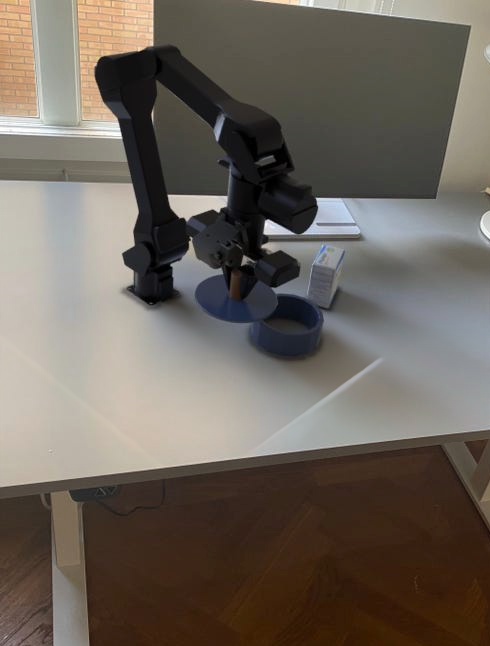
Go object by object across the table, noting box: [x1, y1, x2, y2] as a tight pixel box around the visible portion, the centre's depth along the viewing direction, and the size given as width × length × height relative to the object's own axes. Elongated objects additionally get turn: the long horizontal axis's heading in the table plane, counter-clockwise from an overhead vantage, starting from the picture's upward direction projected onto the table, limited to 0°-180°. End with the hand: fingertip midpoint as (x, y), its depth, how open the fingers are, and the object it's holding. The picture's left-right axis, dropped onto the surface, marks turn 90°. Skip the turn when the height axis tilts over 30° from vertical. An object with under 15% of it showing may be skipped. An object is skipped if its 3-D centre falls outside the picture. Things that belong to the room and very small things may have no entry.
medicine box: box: [306, 244, 346, 309], centre depth 132 cm, size 8×4×9 cm, turn 169°
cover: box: [194, 268, 277, 324], centre depth 111 cm, size 13×13×6 cm
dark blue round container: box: [250, 292, 325, 357], centre depth 121 cm, size 12×12×5 cm
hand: (237, 293), depth 112 cm, fingers closed on cover, 2 cm apart
